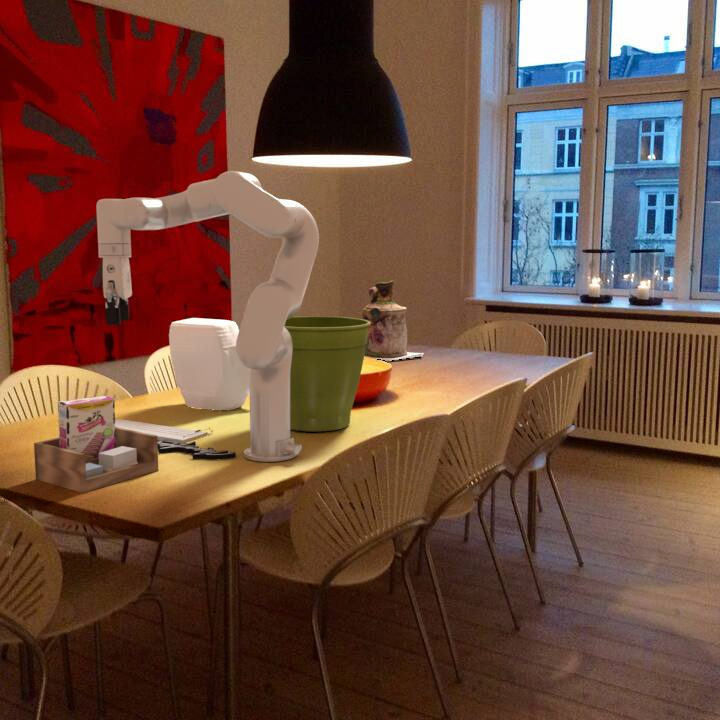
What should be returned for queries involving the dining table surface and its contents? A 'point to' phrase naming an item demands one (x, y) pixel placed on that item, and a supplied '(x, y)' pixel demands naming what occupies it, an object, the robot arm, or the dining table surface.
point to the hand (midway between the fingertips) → (118, 322)
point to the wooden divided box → (71, 465)
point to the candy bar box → (87, 425)
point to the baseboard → (162, 431)
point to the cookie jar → (386, 325)
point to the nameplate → (193, 450)
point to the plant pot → (324, 370)
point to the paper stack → (208, 363)
